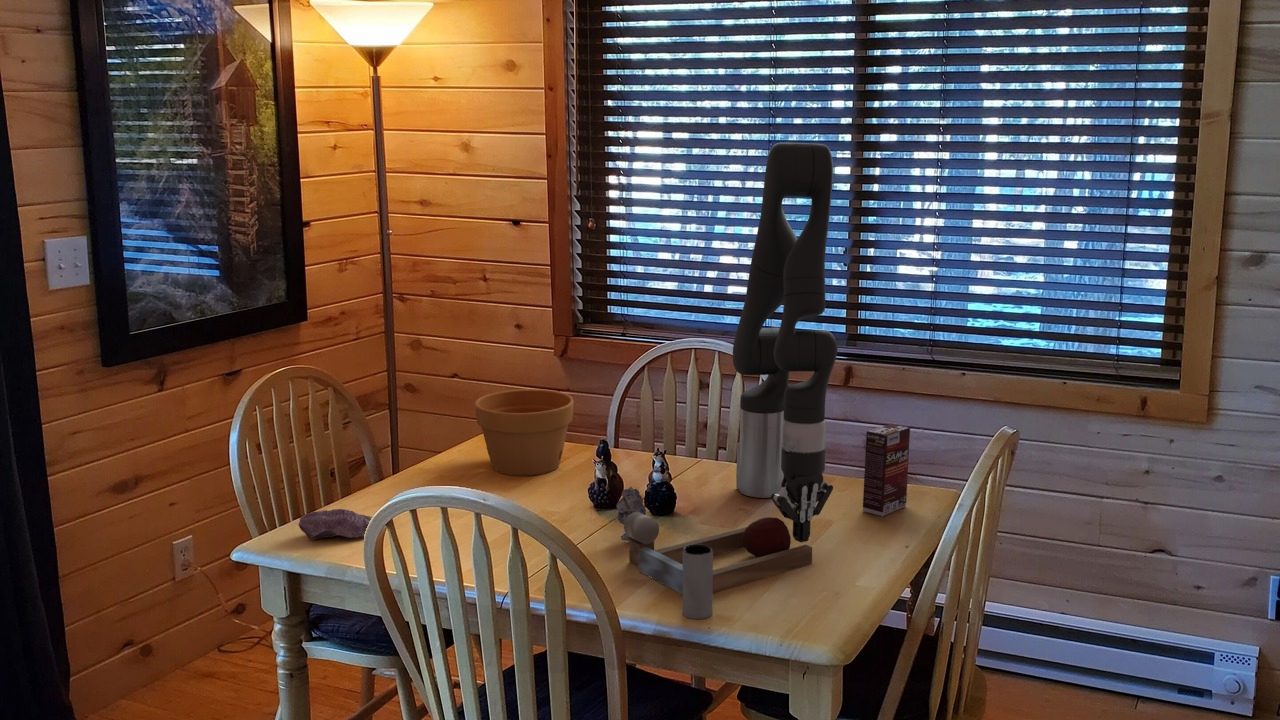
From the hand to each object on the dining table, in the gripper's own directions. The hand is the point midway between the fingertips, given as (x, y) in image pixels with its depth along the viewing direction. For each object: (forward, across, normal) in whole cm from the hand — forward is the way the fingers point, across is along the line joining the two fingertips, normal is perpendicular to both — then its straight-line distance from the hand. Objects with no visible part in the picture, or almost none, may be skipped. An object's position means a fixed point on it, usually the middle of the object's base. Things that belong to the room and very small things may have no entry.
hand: (801, 540), depth 208 cm
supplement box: (+2, -27, -6) cm, 28 cm away
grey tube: (+2, +32, +12) cm, 34 cm away
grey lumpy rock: (+2, +22, -20) cm, 30 cm away
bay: (+1, +17, -3) cm, 17 cm away
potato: (+2, +8, 0) cm, 8 cm away
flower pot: (+1, +15, -71) cm, 73 cm away
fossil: (+2, +64, -53) cm, 83 cm away
